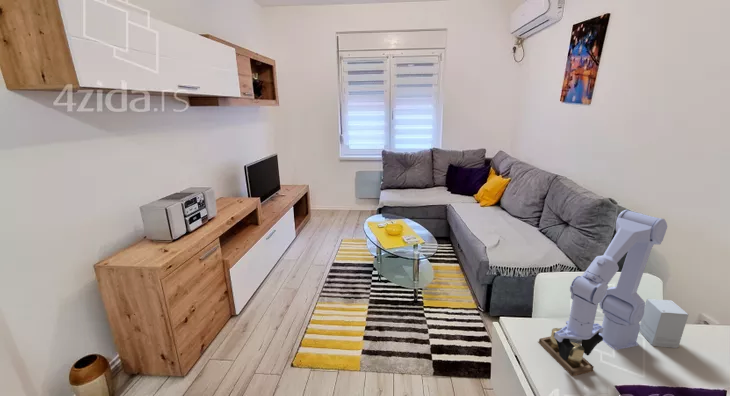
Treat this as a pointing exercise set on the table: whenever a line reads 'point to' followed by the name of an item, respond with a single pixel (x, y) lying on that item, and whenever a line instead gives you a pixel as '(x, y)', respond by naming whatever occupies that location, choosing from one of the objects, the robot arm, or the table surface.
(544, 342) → the brown wooden tray
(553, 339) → the brass round-topped piece
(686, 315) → the supplement box
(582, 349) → the cylinder
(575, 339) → the button housing
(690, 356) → the table surface
